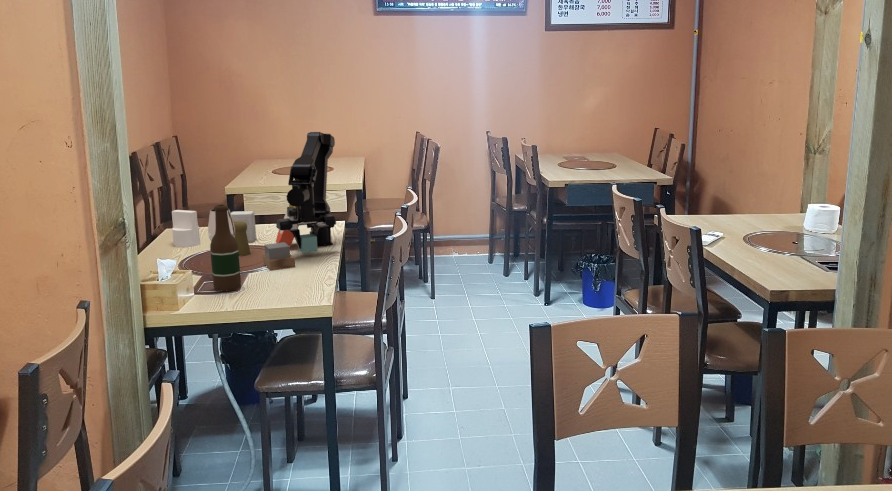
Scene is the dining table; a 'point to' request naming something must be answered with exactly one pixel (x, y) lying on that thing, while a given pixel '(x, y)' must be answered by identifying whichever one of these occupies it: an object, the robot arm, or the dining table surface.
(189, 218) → the white stepped block
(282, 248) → the charcoal block
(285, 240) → the french fries container
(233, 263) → the beer bottle
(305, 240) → the teal cube
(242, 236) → the cork
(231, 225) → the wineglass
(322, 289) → the dining table surface
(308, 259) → the dining table surface
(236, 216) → the small box
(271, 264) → the walnut slab
